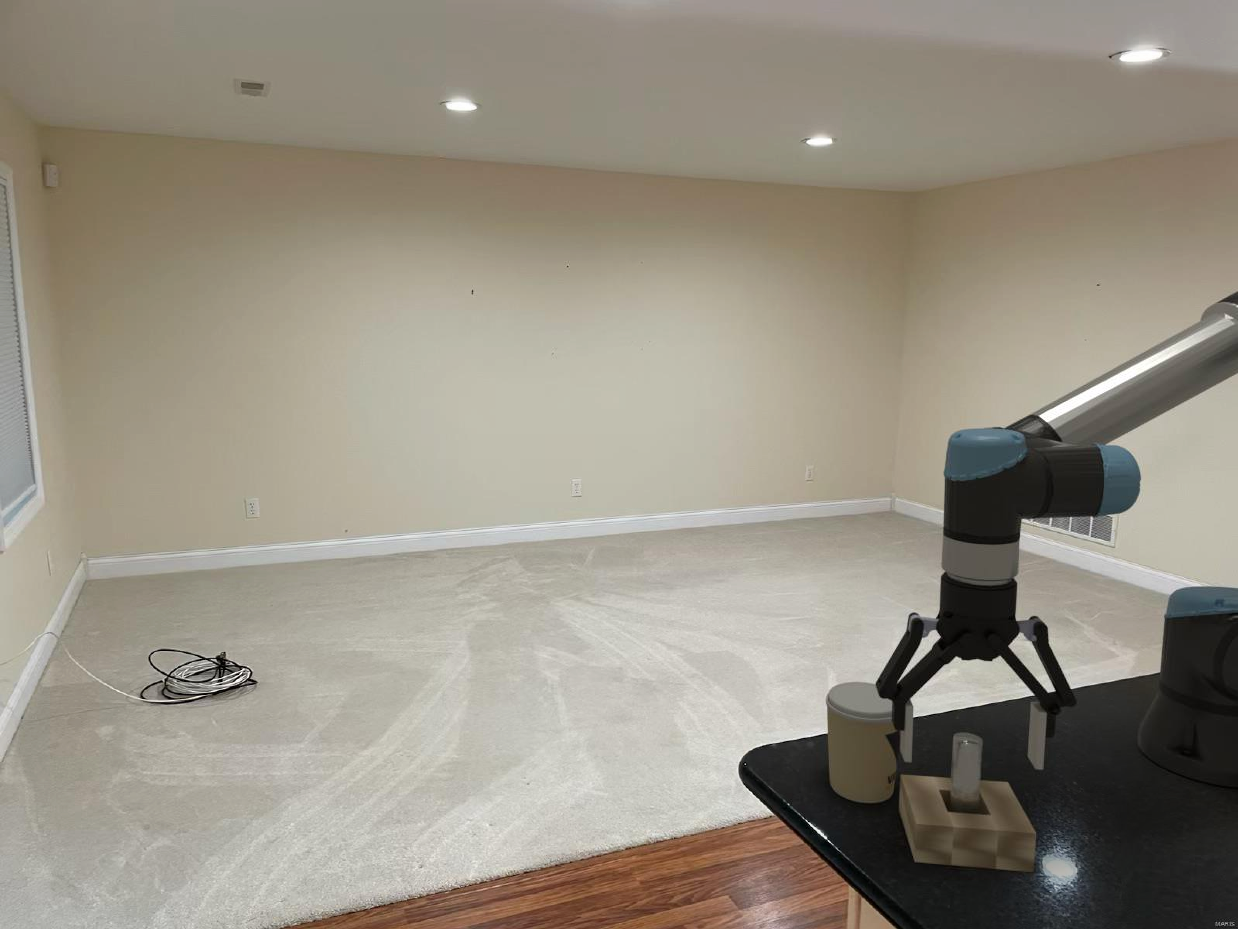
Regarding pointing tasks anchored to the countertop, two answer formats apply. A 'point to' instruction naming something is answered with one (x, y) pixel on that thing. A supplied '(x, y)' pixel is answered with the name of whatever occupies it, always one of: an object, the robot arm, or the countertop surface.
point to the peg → (965, 773)
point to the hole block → (966, 826)
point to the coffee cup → (861, 742)
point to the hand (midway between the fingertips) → (969, 760)
